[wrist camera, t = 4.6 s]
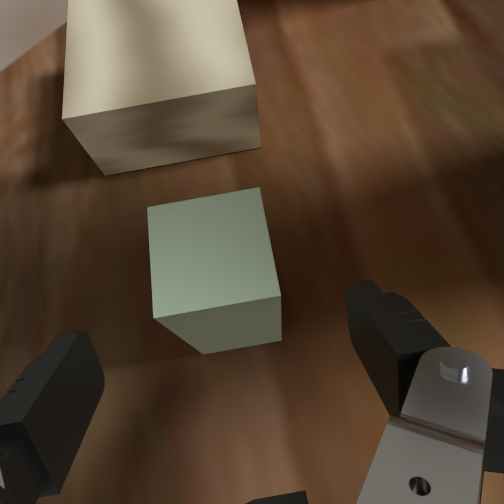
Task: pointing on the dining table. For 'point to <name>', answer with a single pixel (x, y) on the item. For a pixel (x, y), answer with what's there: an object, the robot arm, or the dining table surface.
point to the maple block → (158, 82)
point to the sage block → (215, 271)
